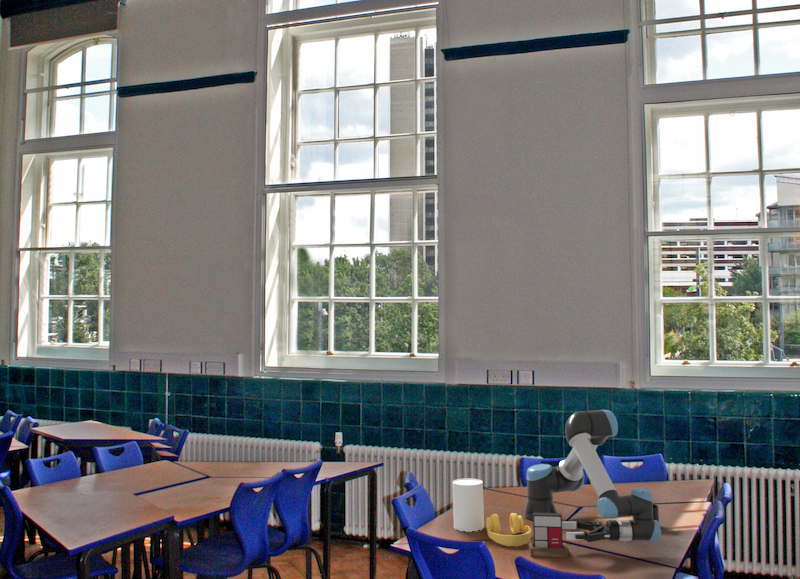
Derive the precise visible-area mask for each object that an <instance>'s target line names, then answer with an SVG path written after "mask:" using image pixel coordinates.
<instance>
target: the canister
mask: <svg viewBox="0 0 800 579" xmlns="http://www.w3.org/2000/svg"><path fill="white" fill-rule="evenodd" d="M452 510H453V529H454V528H455V529H454V530H456V529H457V530H456V531H458V530H459V531H458V532H463V531H465V533H471V532H472V531H475V532H479V531H478V530H480V531H482V529H483V528H484V529H485V516H484V515H485V514H484V510H485V509H484V483H483V480H481V479H479V478H471V477H469V478H468V477H465V478H457V479H454V480H452ZM484 529H483V530H484ZM472 533H473V532H472Z"/></svg>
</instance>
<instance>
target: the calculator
mask: <svg viewBox="0 0 800 579" xmlns="http://www.w3.org/2000/svg"><path fill="white" fill-rule="evenodd" d="M562 517H563V516H562V514H561V512H560V513H559V512H557V513H533V520H532V528H533V529H532V530H533V531H532V533H533V536H532V538H533V542H534V548H563V542H564V541H563V529H562V522H563V519H562Z"/></svg>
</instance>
